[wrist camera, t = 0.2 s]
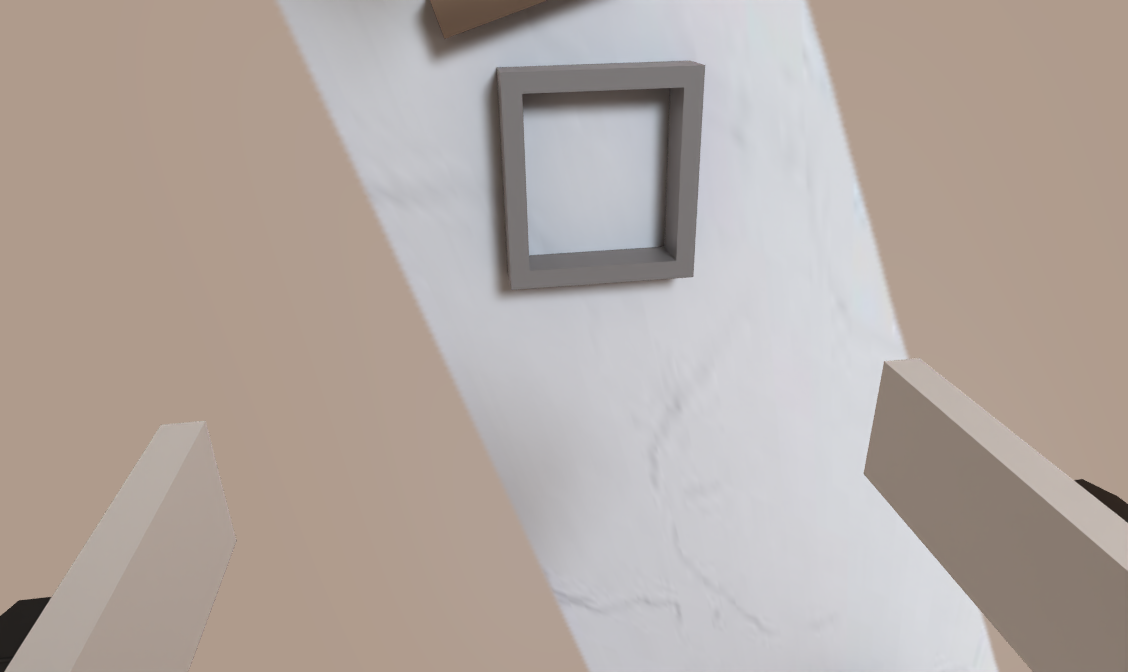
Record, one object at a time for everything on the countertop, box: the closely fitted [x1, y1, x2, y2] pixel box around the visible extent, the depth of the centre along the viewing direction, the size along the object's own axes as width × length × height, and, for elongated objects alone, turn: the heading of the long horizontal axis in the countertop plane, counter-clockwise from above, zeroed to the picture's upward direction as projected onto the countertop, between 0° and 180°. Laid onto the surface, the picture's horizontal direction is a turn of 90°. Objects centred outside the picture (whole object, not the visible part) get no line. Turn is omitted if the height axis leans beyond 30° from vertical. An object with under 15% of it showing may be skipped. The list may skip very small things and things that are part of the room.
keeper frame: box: [497, 61, 705, 290], centre depth 40 cm, size 11×10×2 cm
